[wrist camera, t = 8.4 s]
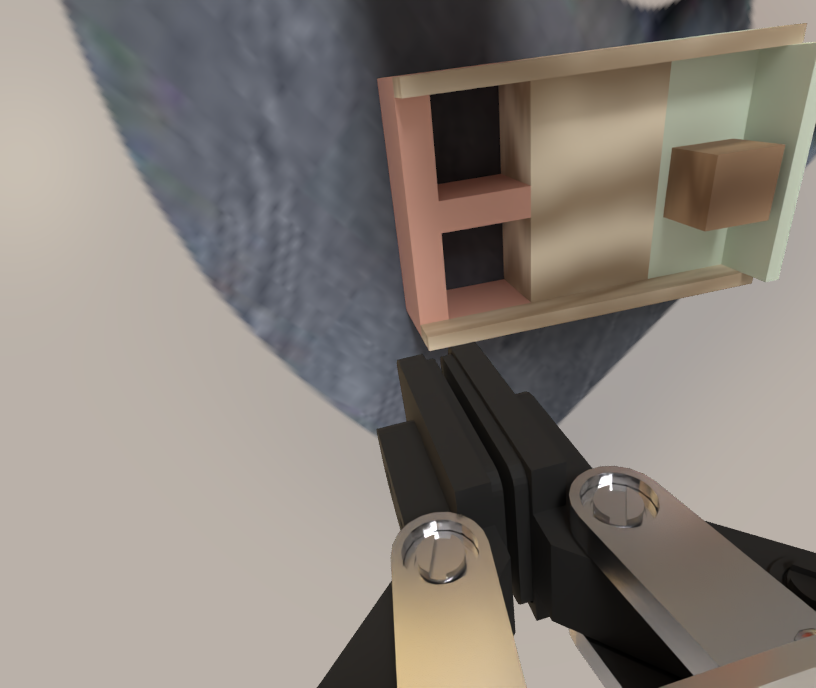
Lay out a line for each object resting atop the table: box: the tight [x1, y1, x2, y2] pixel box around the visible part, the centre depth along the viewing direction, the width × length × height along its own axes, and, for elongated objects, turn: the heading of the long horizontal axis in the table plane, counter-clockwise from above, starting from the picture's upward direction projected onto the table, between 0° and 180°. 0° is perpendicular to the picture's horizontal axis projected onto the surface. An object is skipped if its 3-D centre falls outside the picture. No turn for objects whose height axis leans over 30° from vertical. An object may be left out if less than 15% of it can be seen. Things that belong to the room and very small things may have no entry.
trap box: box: [377, 23, 816, 351], centre depth 34 cm, size 16×24×9 cm, turn 97°
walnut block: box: [663, 138, 785, 231], centre depth 33 cm, size 4×4×4 cm
